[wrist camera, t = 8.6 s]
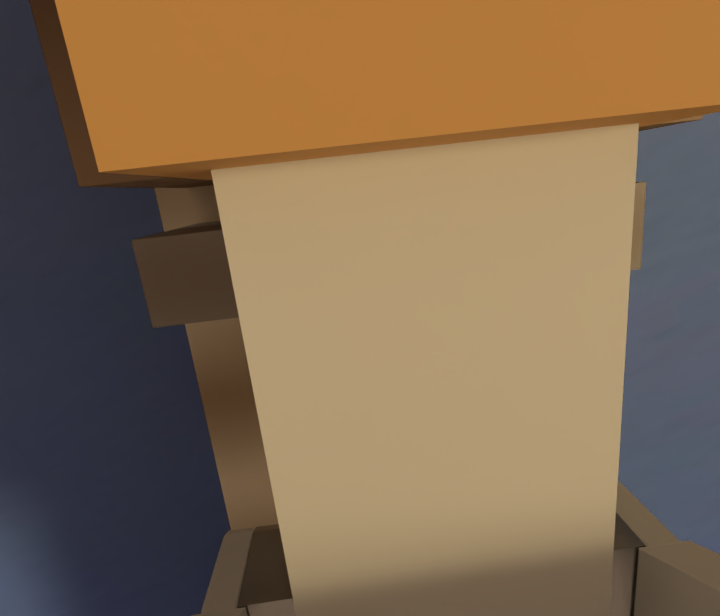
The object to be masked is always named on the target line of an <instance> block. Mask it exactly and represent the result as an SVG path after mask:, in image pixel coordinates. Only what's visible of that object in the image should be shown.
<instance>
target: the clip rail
mask: <svg viewBox="0 0 720 616" xmlns="http://www.w3.org/2000/svg"><path fill="white" fill-rule="evenodd" d="M29 2H30V6H31V10H32V14H33V17H34V21H35V25H36V28H37V32H38V36H39V40H40V43H41V47H42V51H43V55H44V58H45V62H46V66H47V69H48V73H49V77H50V81H51V84H52V88H53V92H54V95H55V99H56V103H57V107H58V110H59V114H60V118H61V122H62V125H63V129H64V133H65V136H66V140H67V144H68V148H69V151H70V155H71V159H72V162H73V166H74V170H75V174H76V177H77V181H78V185H79V187H141V188H154V189H155V194H156V198H157V203H158V207H159V211H160V216H161V220H162V225H163V229H164V232H161V233H158V234H154V235H150V236H146V237H142V238H138V239H134V240H131V242H132V246H133V250H134V254H135V258H136V262H137V266H138V270H139V274H140V278H141V282H142V286H143V291H144V295H145V299H146V303H147V307H148V311H149V315H150V319H151V323H152V327H153V328H156V327H164V326H172V325H181V324H185V327H186V332H187V336H188V341H189V345H190V350H191V354H192V358H193V363H194V367H195V372H196V376H197V381H198V385H199V390H200V394H201V399H202V403H203V407H204V412H205V416H206V421H207V425H208V430H209V434H210V439H211V443H212V448H213V452H214V456H215V461H216V465H217V470H218V474H219V479H220V483H221V488H222V492H223V497H224V501H225V505H226V510H227V514H228V519H229V523H230V528H231V530H238V529H246V528H256V527H259V526H267V525H275V524H279V523H278V518H277V513H276V508H275V503H274V497H273V492H272V487H271V482H270V476H269V471H268V466H267V461H266V456H265V450H264V445H263V440H262V435H261V430H260V424H259V419H258V414H257V409H256V403H255V398H254V393H253V388H252V383H251V377H250V372H249V367H248V362H247V356H246V351H245V346H244V341H243V336H242V330H241V325H240V320H239V315H238V309H237V304H236V299H235V294H234V289H233V283H232V278H231V273H230V268H229V262H228V257H227V252H226V247H225V242H224V236H223V231H222V226H221V221H220V215H219V210H218V205H217V200H216V195H215V189H214V184H213V180H203V179H188V178H174V177H160V176H146V175H132V174H118V173H104V172H99V171H98V167H97V163H96V159H95V155H94V151H93V147H92V143H91V139H90V136H89V132H88V128H87V124H86V120H85V116H84V112H83V108H82V105H81V101H80V97H79V93H78V89H77V85H76V81H75V77H74V74H73V70H72V66H71V62H70V58H69V54H68V50H67V46H66V43H65V39H64V35H63V31H62V27H61V23H60V19H59V15H58V12H57V8H56V4H55V0H29ZM702 116H703V115H700V116H695V117H689V118H684V119H679V120H674V121H669V122H664V123H659V124H654V125H648V126H643V127H639V131H642V130H648V129H653V128H658V127H664V126H669V125H674V124H680V123H685V122H690V121H696V120H701V119H702ZM645 195H646V182H635V198H634V215H633V231H632V248H631V265H630V270H635V269H641V256H642V241H643V225H644V210H645Z"/></svg>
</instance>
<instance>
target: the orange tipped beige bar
mask: <svg viewBox="0 0 720 616" xmlns="http://www.w3.org/2000/svg"><path fill="white" fill-rule="evenodd" d="M55 4H56V8H57V12H58V15H59V19H60V23H61V27H62V31H63V35H64V39H65V43H66V46H67V50H68V54H69V58H70V62H71V66H72V70H73V74H74V77H75V81H76V85H77V89H78V93H79V97H80V101H81V105H82V108H83V112H84V116H85V120H86V124H87V128H88V132H89V136H90V139H91V143H92V147H93V151H94V155H95V159H96V163H97V167H98V171H99V172H104V173H118V174H132V175H146V176H160V177H174V178H188V179H203V180H213V184H214V189H215V195H216V200H217V205H218V210H219V215H220V221H221V226H222V231H223V236H224V242H225V247H226V252H227V257H228V262H229V268H230V273H231V278H232V283H233V289H234V294H235V299H236V304H237V309H238V315H239V320H240V325H241V330H242V336H243V341H244V346H245V351H246V356H247V362H248V367H249V372H250V377H251V383H252V388H253V393H254V398H255V403H256V409H257V414H258V419H259V424H260V430H261V435H262V440H263V445H264V450H265V456H266V461H267V466H268V471H269V476H270V482H271V487H272V492H273V497H274V503H275V508H276V513H277V518H278V523H279V529H280V534H281V539H282V544H283V550H284V555H285V560H286V565H287V570H288V576H289V581H290V586H291V591H292V597H293V602H294V607H295V612H296V616H610V601H611V584H612V567H613V551H614V534H615V517H616V500H617V483H618V467H619V450H620V433H621V416H622V399H623V383H624V366H625V349H626V332H627V315H628V299H629V282H630V265H631V248H632V231H633V215H634V198H635V181H636V164H637V147H638V131H639V127H643V126H648V125H654V124H659V123H664V122H669V121H674V120H679V119H684V118H689V117H695V116H700V115H705V114H710V113H715V112H720V0H55Z"/></svg>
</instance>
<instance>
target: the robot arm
mask: <svg viewBox="0 0 720 616" xmlns="http://www.w3.org/2000/svg"><path fill="white" fill-rule="evenodd" d="M191 616H296V612H295V607H294V602H293V597H292V591H291V586H290V581H289V576H288V570H287V565H286V560H285V555H284V550H283V544H282V539H281V534H280V529H279V524H275V525H267V526H259V527H256V528H246V529H238V530H230V531H228V532H227V533H226V535H225V536H224V537H223V540H222V543H221V547H220V550H219V553H218V556H217V560H216V563H215V566H214V570H213V573H212V576H211V580H210V583H209V586H208V590H207V593H206V596H205V600H204V603H203V606H202V609H201V613H200V614H197V615H191ZM610 616H720V554H718V553H715V552H713V551H711V550H709V549H707V548H704V547H702V546H700V545H698V544H696V543H693V542H691V541H682V542H680V541H679V540H678V539H677V538H676V537H675V536H674V535H673V534H672V533H671V532H670V531H669V530H668V529H667V528H666V527H665V526H664V525H663V524H662V523H661V522H660V521H659V520H658V519H657V518H656V517H655V516H654V515H653V514H652V513H651V512H650V511H649V510H648V509H647V508H646V507H645V506H644V505H642V504H641V503H640V502H639V501H638V500H637V499H636V498H635V497H634V496H633V495H632V494H631V493H630V492H629V491H628V490H627V489H626V488H625V487H624V486H623V485H622V484H621V483H620V482H619V481H618V483H617V500H616V517H615V534H614V551H613V567H612V584H611V601H610Z"/></svg>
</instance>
